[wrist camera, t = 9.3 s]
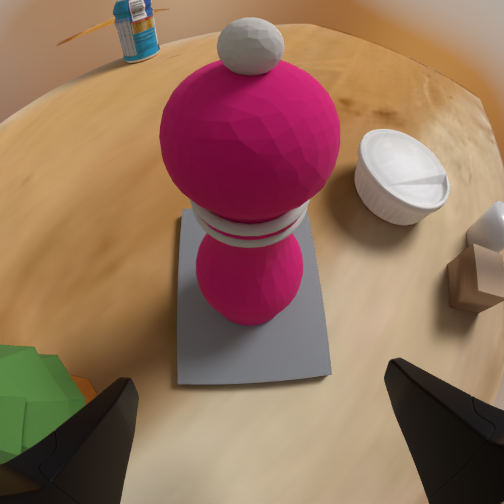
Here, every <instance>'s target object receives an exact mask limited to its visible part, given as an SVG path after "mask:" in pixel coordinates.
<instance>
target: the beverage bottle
mask: <svg viewBox="0 0 504 504" xmlns="http://www.w3.org/2000/svg"><path fill="white" fill-rule="evenodd" d="M151 4H152V1H151V0H117V2H116V4H115V6H114V10H113V15H114V16H115V17H116V19H115V26H116V28H117V30H118V34H119V38H120V42H121V46H122V50H123V54H124V59H125V61H126V62H128V63H136V62H141V61H144V60H147V59H149V58H152V57H153V56H155V55H156V54H158V53H159V51H160V48H159V44H158V40H157V34H156V29H155V22H154V10H153V9H152V8H151Z"/></svg>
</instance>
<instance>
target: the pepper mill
mask: <svg viewBox="0 0 504 504" xmlns="http://www.w3.org/2000/svg"><path fill="white" fill-rule="evenodd" d="M217 51H218V55H219V58H220V60H219V61H216V62H213V63H210V64H208V65H206V66H204V67H202V68H200V69H198V70H197V71H195V72H193V73H192V74H191V75H189V76H188V77H187V78H186V79H185V80H183V81H182V82H181V83H180V84H179V86H178V87H177V88H176V89H175V90H174V91H173V93H172V95H171V97H170V98H169V100H168V102H167V104H166V106H165V108H164V110H163V115H162V120H161V125H160V135H159V137H160V145H161V151H162V158H163V161H164V164H165V166H166V169H167V171H168V173H169V175H170V177H171V179H172V181H173V182H174V183H175V185H176V186H177V187H178V188H179V190H180V191H181V192H182V193H183V194H185V195H186V196H187V197H188V198H189V199H190V202H191V204H192V209H193V213H194V216H195V218H196V220H197V221H198V223H199V224H200V226H201V227H202V228H203V229H204V230H205V231H206V232H207V234H206V235H205V236H204V238H203V239H202V241H201V244H200V246H199V249H198V253H197V258H196V276H197V280H198V284H199V287H200V290H201V292H202V294H203V296H204V298H205V299H206V300H207V302H208V303H209V304H210V305H211V306H212V307H213V308H214V309H215V310H217V311H218V312H219V313H221V314H222V315H223V316H224V317H225V318H227V319H228V320H229V321H232V322H234V323H236V324H240V325H244V326H254V325H260V324H263V323H265V322H267V321H269V320H271V319H273V318H274V317H275V316H276V315H277V314H278V313H280V312H281V311H283V310H284V309H285V308H286V307H287V306H288V305H289V304H290V303H291V302H292V300H293V299H294V298H295V296H296V294H297V292H298V290H299V287H300V284H301V279H302V275H303V258H302V253H301V248H300V246H299V243H298V241H297V239H296V238H295V236H294V235H293V232H294V231H295V230H296V229H297V228H298V227H299V225H300V224H301V222H302V220H303V218H304V216H305V214H306V211H307V206H308V203H309V201H310V198H312V197H313V196H314V195H315V194H317V193H318V192H319V191H320V190H321V189H322V188H323V187H324V185H325V183H326V181H327V180H328V178H329V176H330V174H331V173H332V171H333V169H334V167H335V164H336V160H337V156H338V152H339V148H340V121H339V117H338V114H337V111H336V108H335V105H334V103H333V101H332V99H331V97H330V96H329V94H328V92H327V91H326V90H325V89H324V88H323V86H322V85H321V84H320V83H319V82H318V81H317V80H316V79H315V78H313V77H312V76H311V75H310V74H309V73H307V72H305V71H303V70H302V69H300V68H298V67H296V66H294V65H292V64H290V63H287V62H284V61H281V58H282V56H283V53H284V41H283V37H282V35H281V33H280V32H279V31H278V29H277V28H276V27H275V26H274V25H272V24H271V23H269V22H267V21H265V20H263V19H259V18H242V19H239V20H236V21H234V22H233V23H231V24H229V25H227V27H225V29H223V31H222V32H221V34H220V36H219V38H218V43H217Z"/></svg>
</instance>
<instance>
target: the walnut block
mask: <svg viewBox="0 0 504 504" xmlns="http://www.w3.org/2000/svg"><path fill="white" fill-rule="evenodd" d="M448 277H449V307H453V308H457V309H462V310H467V311H471V312H476V313H480V312H482V311H484V310H486V309H488V308H490V307H492V306H494V305H496V304H498V303H500V302H502V301H504V264H503V257H502V254H500V253H497V252H495V251H492V250H490V249H487V248H484V247H482V246H479V245H477V244H474V243H473V244H472V245H470V246H469V247H468V248H467V249H466V250H464V251H463V252H462V253H461V254H460V255H458V256H457V257H456V258H455V259H453V260H452V261H451V262H450V263H448Z"/></svg>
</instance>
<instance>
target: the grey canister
mask: <svg viewBox="0 0 504 504" xmlns="http://www.w3.org/2000/svg"><path fill="white" fill-rule="evenodd" d="M467 242H468V245H469V246H470V245H472V244H473V243H474V244H477V245H479V246H482V247H484V248H487V249H490V250H492V251H495V252H497V253H499V252H500V251H502V250H503V249H504V203H502V202H500V201H496V202H495V203H494V204H493V205H492V206H491V207H490V208H489V209H488V210H487V211H486V212H485V213H484V214H483V215H482V216H481V217H480V218H479V219H478V220H477V221H476V222H475V223H474V224H473V225H472V226H471V227H470V228H469V229H468V231H467Z"/></svg>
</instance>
